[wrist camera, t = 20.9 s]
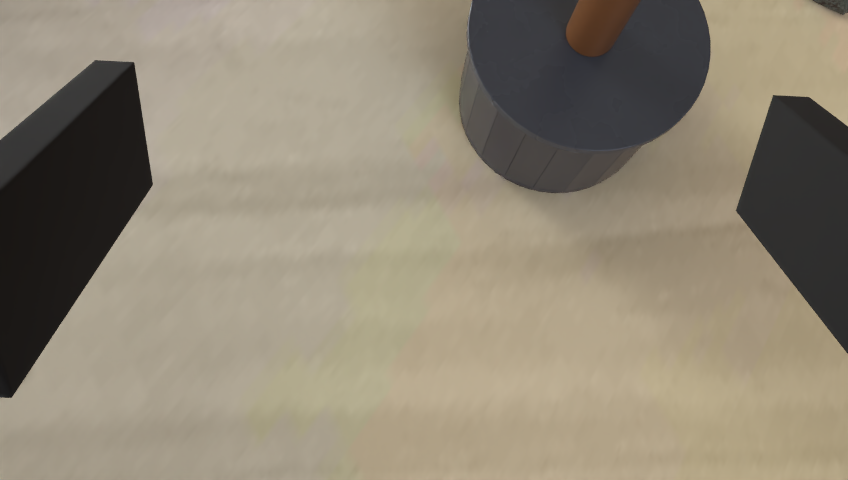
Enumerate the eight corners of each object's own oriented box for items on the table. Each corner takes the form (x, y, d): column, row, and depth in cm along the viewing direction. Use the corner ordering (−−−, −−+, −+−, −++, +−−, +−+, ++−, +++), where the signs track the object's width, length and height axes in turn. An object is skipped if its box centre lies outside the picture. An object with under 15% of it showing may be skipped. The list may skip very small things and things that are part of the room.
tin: (429, 147, 49) (439, 88, 40) (501, -7, 52) (524, -92, 43) (605, 223, 48) (654, 181, 40) (667, 63, 51) (726, -9, 43)
